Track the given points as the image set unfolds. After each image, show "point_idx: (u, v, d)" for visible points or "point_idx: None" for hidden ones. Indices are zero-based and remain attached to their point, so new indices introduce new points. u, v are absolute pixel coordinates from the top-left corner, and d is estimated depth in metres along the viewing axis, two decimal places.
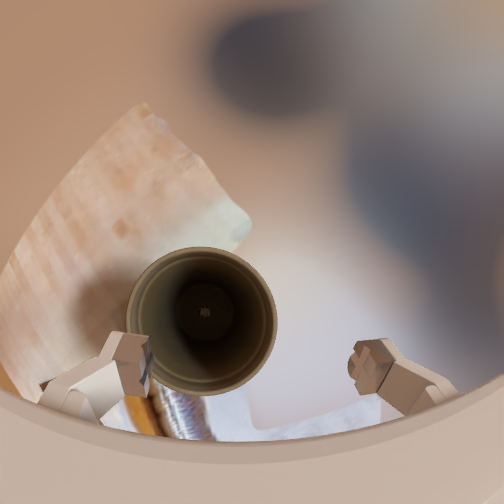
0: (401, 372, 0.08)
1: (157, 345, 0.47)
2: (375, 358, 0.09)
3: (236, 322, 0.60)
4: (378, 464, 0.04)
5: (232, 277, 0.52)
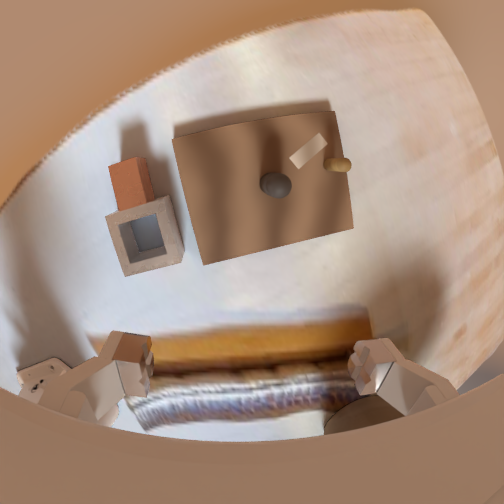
0: (401, 372, 0.08)
1: None
2: (375, 358, 0.09)
3: None
4: (378, 464, 0.04)
5: None
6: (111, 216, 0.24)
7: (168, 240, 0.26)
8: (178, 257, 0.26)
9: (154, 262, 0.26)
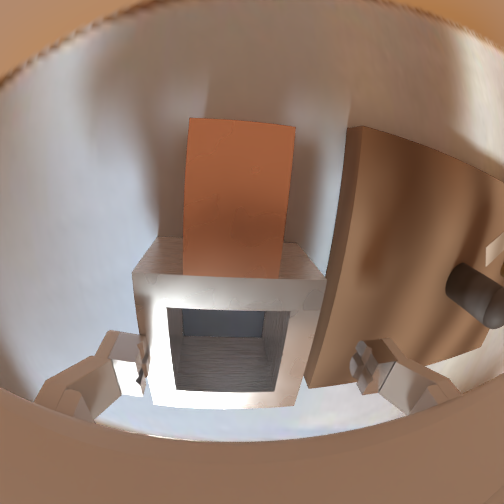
0: (403, 371, 0.08)
1: None
2: (377, 358, 0.09)
3: None
4: (378, 464, 0.04)
5: None
6: (152, 279, 0.08)
7: (291, 370, 0.10)
8: (293, 398, 0.11)
9: (237, 399, 0.10)
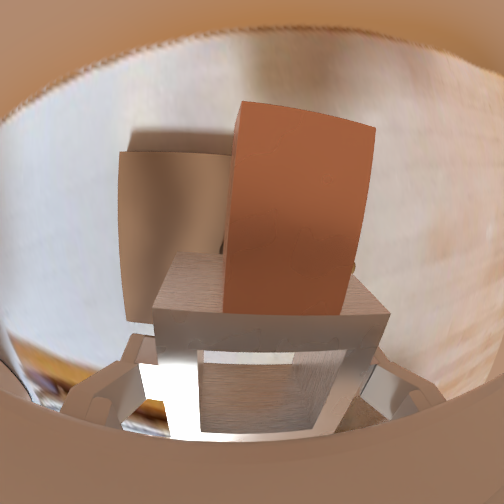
0: (384, 375, 0.08)
1: None
2: None
3: None
4: (378, 464, 0.04)
5: None
6: (180, 317, 0.06)
7: (334, 408, 0.08)
8: (330, 433, 0.09)
9: (270, 439, 0.08)
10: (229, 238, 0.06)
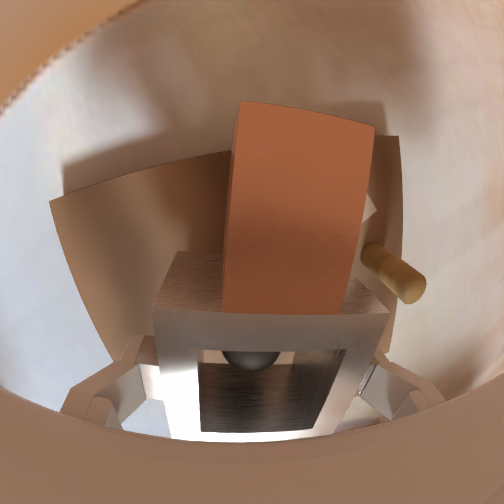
0: (384, 375, 0.08)
1: None
2: None
3: None
4: (378, 464, 0.04)
5: None
6: (180, 316, 0.06)
7: (334, 407, 0.08)
8: (330, 432, 0.09)
9: (270, 438, 0.08)
10: (228, 237, 0.06)
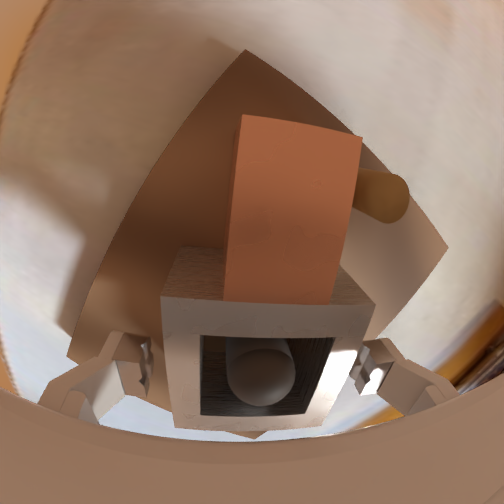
0: (401, 371, 0.08)
1: None
2: (375, 358, 0.09)
3: None
4: (378, 464, 0.04)
5: None
6: (185, 304, 0.07)
7: (325, 393, 0.09)
8: (322, 419, 0.10)
9: (265, 422, 0.09)
10: (230, 235, 0.07)
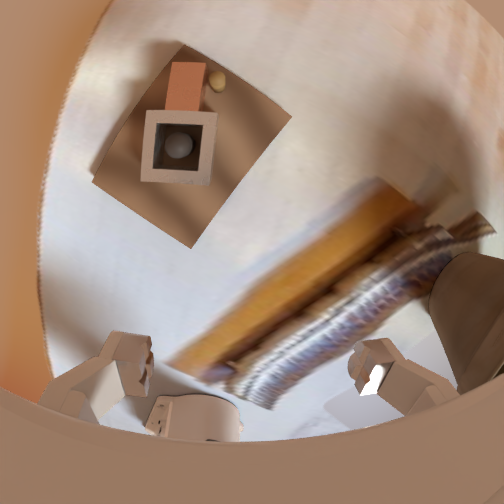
0: (400, 372, 0.08)
1: None
2: (375, 358, 0.09)
3: None
4: (378, 464, 0.04)
5: None
6: (153, 112, 0.20)
7: (205, 157, 0.22)
8: (208, 179, 0.23)
9: (180, 175, 0.23)
10: None
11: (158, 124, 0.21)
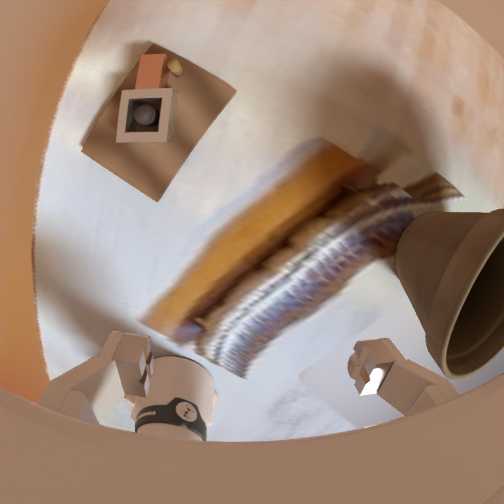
0: (400, 371, 0.08)
1: None
2: (375, 358, 0.09)
3: None
4: (378, 464, 0.04)
5: (492, 280, 0.33)
6: (127, 91, 0.25)
7: (163, 121, 0.27)
8: (165, 137, 0.28)
9: (145, 136, 0.27)
10: (137, 75, 0.24)
11: (130, 100, 0.26)
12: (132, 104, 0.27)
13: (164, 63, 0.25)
